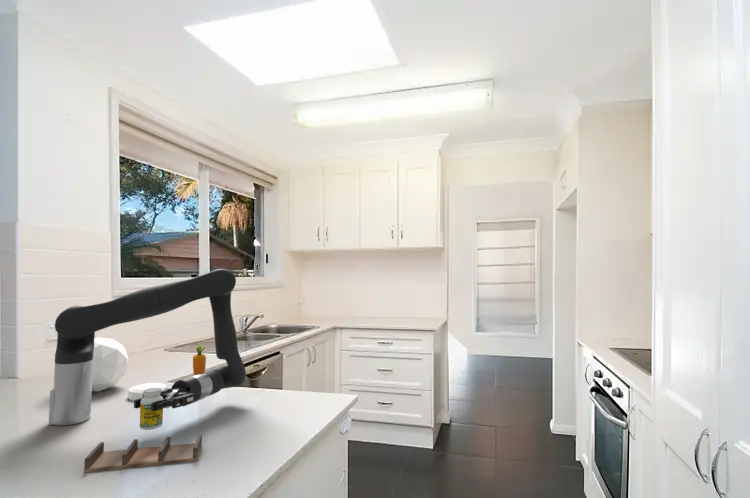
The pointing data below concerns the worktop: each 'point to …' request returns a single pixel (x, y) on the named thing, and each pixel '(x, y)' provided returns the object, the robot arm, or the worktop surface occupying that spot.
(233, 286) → the robot arm
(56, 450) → the worktop surface
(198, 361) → the carrot
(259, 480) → the worktop surface
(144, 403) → the supplement bottle
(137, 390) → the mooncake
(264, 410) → the worktop surface
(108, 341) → the ball
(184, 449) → the slot rack
